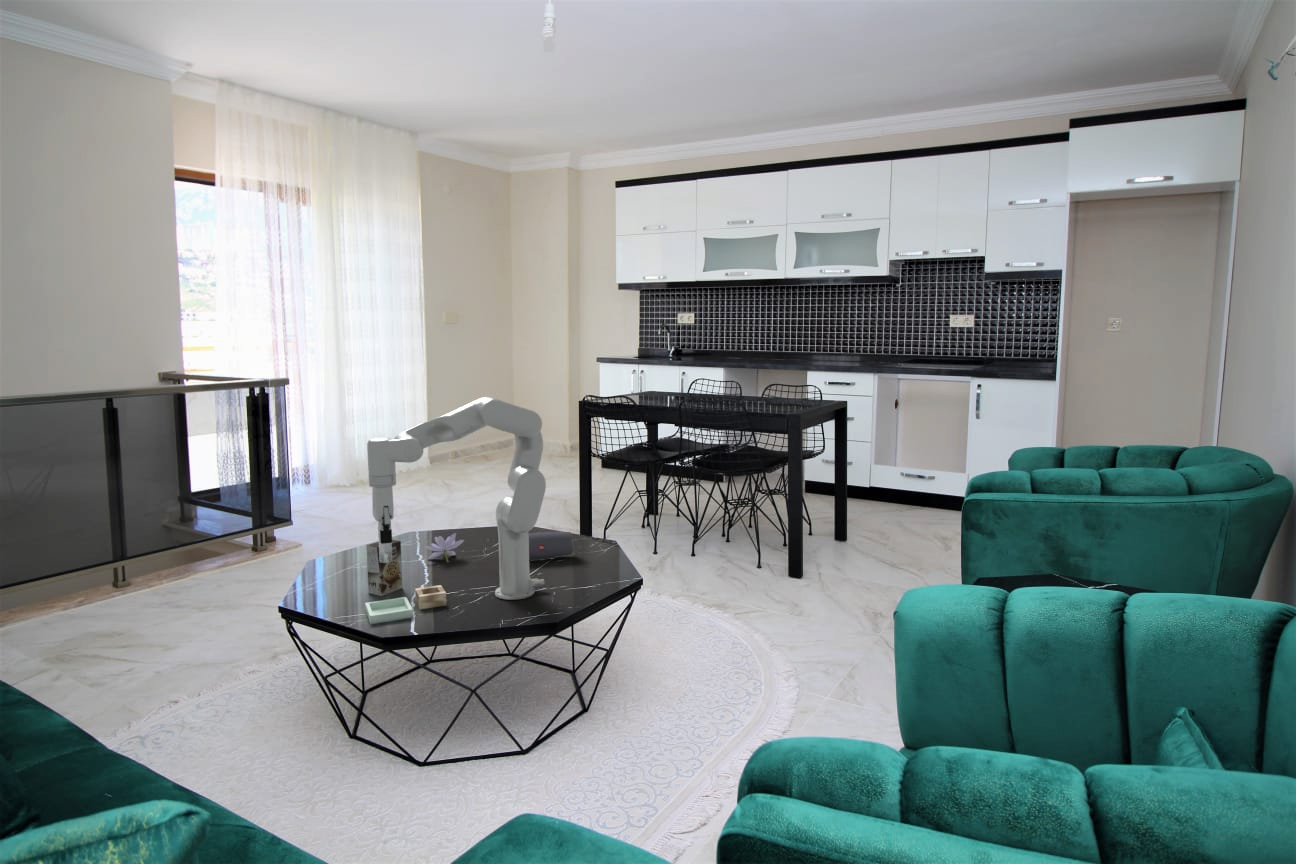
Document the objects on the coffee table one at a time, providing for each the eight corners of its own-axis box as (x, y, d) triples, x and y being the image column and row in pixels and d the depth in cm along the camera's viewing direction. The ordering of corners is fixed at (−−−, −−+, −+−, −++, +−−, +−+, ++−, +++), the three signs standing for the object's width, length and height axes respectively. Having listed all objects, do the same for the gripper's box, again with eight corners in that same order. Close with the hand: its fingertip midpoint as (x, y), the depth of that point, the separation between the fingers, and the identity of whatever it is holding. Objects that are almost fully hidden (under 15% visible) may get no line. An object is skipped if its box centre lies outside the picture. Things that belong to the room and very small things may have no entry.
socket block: (441, 597, 250) (440, 585, 250) (446, 605, 243) (446, 592, 243) (415, 601, 247) (414, 588, 246) (419, 609, 240) (419, 596, 239)
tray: (406, 604, 244) (406, 596, 244) (413, 617, 233) (412, 609, 233) (365, 610, 239) (365, 602, 238) (370, 624, 228) (369, 616, 228)
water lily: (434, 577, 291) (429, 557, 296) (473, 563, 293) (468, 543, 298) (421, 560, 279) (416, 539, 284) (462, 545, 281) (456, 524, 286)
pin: (378, 560, 235) (377, 520, 233) (391, 558, 236) (390, 519, 234) (380, 563, 231) (378, 523, 230) (393, 562, 233) (391, 522, 231)
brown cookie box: (382, 596, 251) (379, 547, 249) (367, 593, 254) (365, 544, 252) (403, 588, 259) (401, 540, 257) (389, 585, 262) (387, 538, 260)
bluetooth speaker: (510, 565, 283) (509, 538, 282) (508, 557, 292) (507, 531, 291) (573, 560, 289) (572, 534, 287) (569, 553, 298) (569, 527, 296)
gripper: (365, 476, 236) (368, 535, 239) (372, 486, 221) (375, 550, 224) (391, 474, 239) (394, 533, 242) (400, 484, 225) (403, 546, 227)
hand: (385, 540), depth 233 cm, fingers closed on pin, 3 cm apart
